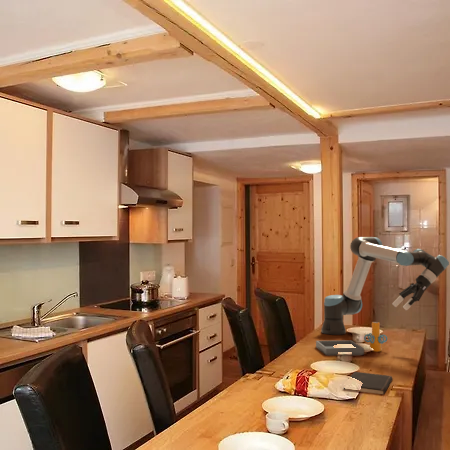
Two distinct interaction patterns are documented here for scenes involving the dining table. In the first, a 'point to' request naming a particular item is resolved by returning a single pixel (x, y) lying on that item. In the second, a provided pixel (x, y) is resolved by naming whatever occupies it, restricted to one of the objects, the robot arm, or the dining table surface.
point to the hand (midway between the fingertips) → (399, 307)
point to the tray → (328, 348)
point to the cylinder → (375, 337)
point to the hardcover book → (373, 382)
